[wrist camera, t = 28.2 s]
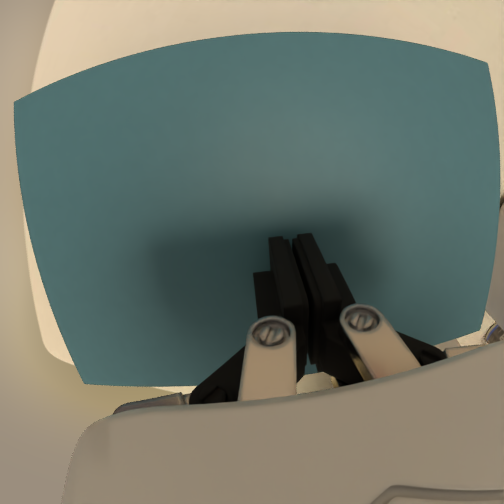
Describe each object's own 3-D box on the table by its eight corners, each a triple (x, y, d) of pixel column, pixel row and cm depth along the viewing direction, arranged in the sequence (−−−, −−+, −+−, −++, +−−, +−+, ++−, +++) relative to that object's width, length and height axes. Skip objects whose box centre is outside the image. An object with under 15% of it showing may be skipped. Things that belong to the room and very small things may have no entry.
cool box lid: (473, 324, 15) (480, 330, 14) (88, 375, 15) (83, 384, 14) (478, 65, 10) (487, 62, 9) (22, 103, 10) (13, 101, 9)
